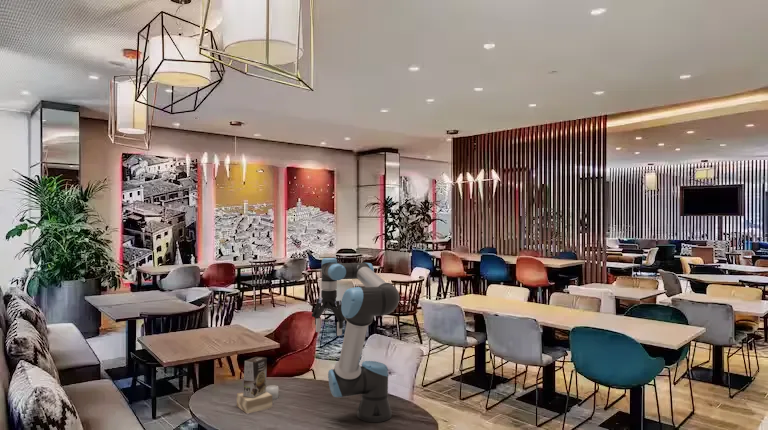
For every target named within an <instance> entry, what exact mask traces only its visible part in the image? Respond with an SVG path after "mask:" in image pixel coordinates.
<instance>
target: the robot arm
mask: <svg viewBox="0 0 768 430" xmlns="http://www.w3.org/2000/svg"><path fill="white" fill-rule="evenodd" d="M320 265H321V284H320V285H321V287H320V288H321V291H320V293H321V294H320V295H321V298H317V299H316V304H315V306H314V308H313V311H312V314H311V317H312V318H314V324H315V332H316V333H319V332H322V331H321V329H322V328H321V326H322V320H321V316H322V314H323V313H324V311H325V310H331V311H332V312H333V314H334V316H335V318H336V319H337V322H336V336H338V337H339V336H343V341H342V345H341V349H340V350H341V352H340V356H339V360H338V361H337V362H336V363H335V364H334V367H333V368H332V369H331V368H330V369H329V370H328V373H327V375H328V376H327V379H328V387H329V391H330V393H331V395H332V396H333V397H334V398H344V397H345V398H346V397H351V396H352V397H353V396H360V395H361V398H360V402H359V405H358V408H357V414H356V415H357V418H358V419H359V420H362V421H363V422H368V423H382V422H385V421H388V420H390V419H391V418H392V415H393V414H392V411H393V410H392V408H391V405H390V402H389V395H388V393H389V370H388V369H389V368H388V366H387V365H386V364H385V363H383V362H379V361H375V360H374V361H373V360H364V361H362V362H361V359H362V354H363V349H364V346H365V340H366V336H367V330H368V326H370V325H371V324H373V321H374V318H375V317H381V316H386V315H390V314H391V313H392V312H394V311H395V310H396V309H397V308H398V305H399V304H400V292H399V290H398V289H397V288H396V286H395V285H394V284H392V283H391V282H386V281H385V280H384V279H383V278H382V277H381V276H379V275H378V274H377V273H375V269H374V266H373V264H372V263H371V262H348V263H347V262H345V263H344V262H343V263H340V262H339V263H338V260H337V258H336V257H325V258H322V259H321V264H320ZM342 280H358V281H359V282H360V283H361V284H362V285H363V287H362V286H361V287H359V286H355V287H350V288H347V289H346V290H345V292H343V295H342V298H341V300H337V296H338V295H337V294H338V290H337V289H338V281H342ZM345 321H346V325H345V330H344V335H343V328H344V322H345ZM360 362H361V365H360Z"/></svg>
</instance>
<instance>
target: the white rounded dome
mask: <svg viewBox="0 0 768 430" xmlns="http://www.w3.org/2000/svg"><path fill="white" fill-rule="evenodd" d="M266 392H268V393H269V394H271V395H272V401H273V400H276V399H279V386H278V385H275V384H271V385H270V384H269V385H266Z"/></svg>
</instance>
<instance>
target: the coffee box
mask: <svg viewBox="0 0 768 430" xmlns="http://www.w3.org/2000/svg"><path fill="white" fill-rule="evenodd" d="M267 363H268V358H267V357H264V356H254V357H251V358H249V359H246V360H244V367H243V369H244V370H243V389H242V390H243V391H242V392H243V396H246V397H251V398H255V397H257V396H259V395H261V394H263V393H265V392H266V387H267V368H268V367H267V365H268V364H267Z"/></svg>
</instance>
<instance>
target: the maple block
mask: <svg viewBox="0 0 768 430" xmlns="http://www.w3.org/2000/svg"><path fill="white" fill-rule="evenodd" d="M236 407H238V408H239V409H240V410H242V411H243V412H244V413H246V414H247V415H248V414H252V413H253V414H254V413H257V412H261V411H264V410H269V409H272V408H273V400H272V395H271V394H269V393H268V392H265V393H263V394H261V395H259V396H257V397H255V398H251V397H246V396H243V391H242V392H238V393H236Z"/></svg>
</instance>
